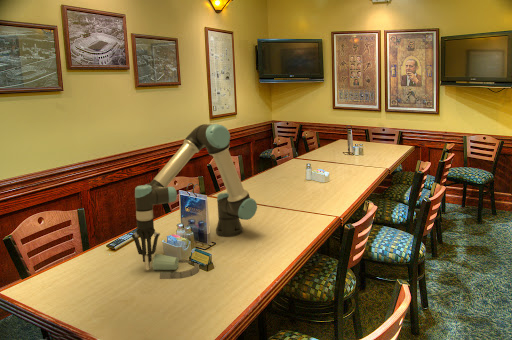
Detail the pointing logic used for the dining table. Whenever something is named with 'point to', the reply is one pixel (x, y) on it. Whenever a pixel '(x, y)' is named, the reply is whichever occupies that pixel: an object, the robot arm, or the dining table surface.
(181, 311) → the dining table surface
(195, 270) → the split ring
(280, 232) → the dining table surface
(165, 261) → the cup
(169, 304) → the dining table surface
